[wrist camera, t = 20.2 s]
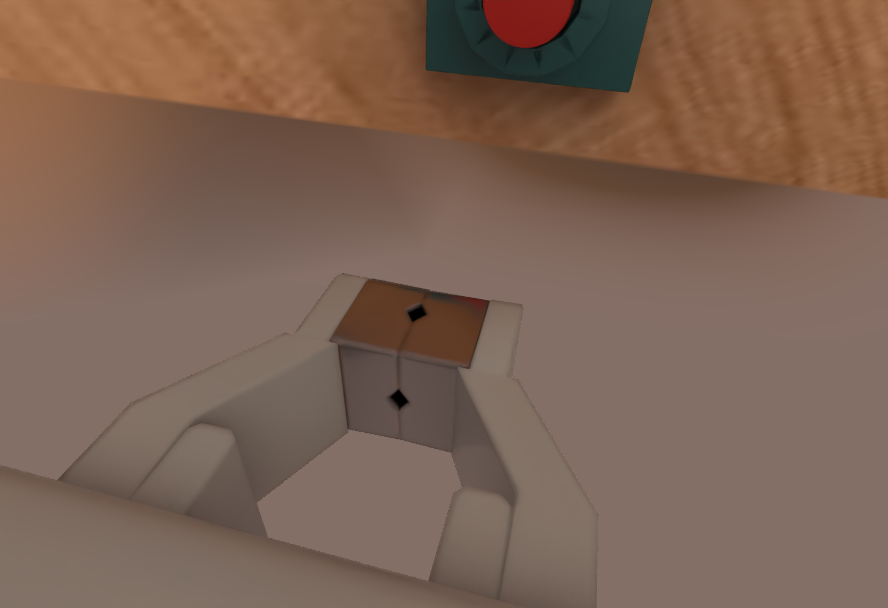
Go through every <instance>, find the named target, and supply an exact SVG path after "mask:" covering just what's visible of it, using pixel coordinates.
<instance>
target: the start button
mask: <svg viewBox="0 0 888 608" xmlns="http://www.w3.org/2000/svg"><path fill="white" fill-rule="evenodd" d="M573 4H574V0H483V8H484V13H485V16H486V19H487V22H488V24H489V26H490V27H491V29H492V31H493V32H494V33H495V34H496V35H497V36H498V37H499V38H500V39H501V40H503V41H504V42H505V43H507V44H509V45H512V46H515V47H520V48H532V47H536V46H540V45H542V44H545V43H546V42H548V41H550V40H551V39H552V38H554V37H555V36H556V35H557V34H558V33H559V32H560V31H561V29H562V28H563V27H564V25H565V24H566V22H567V20H568V18H569V16H570V13H571V10H572V7H573Z"/></svg>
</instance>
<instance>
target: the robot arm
mask: <svg viewBox="0 0 888 608" xmlns="http://www.w3.org/2000/svg"><path fill="white" fill-rule="evenodd" d="M522 313H523V306H522V304H516V303H510V302H503V301H495V300H491V301H489V300H483V299H477V298H471V297H465V296H459V295H453V294H448V293H442V292H436V291H430V290H427V289H423V288H417V287H412V286H407V285H402V284H397V283H392V282H387V281H382V280H376V279H369V278H366V277H360V276H355V275H349V274H344V273H342V274H340V275H337V276H336V277H335V278H334V280H333V281H332V282H331V284H330V285H329V287H328V288H327V289H326V290H325V292H324V293H323V295H322V296H321V298H320V299H319V300H318V302H317V303H316V304H315V306H314V307H313V308H312V310H311V311H310V312H309V314H308V315H307V317H306V318H305V319H304V321H303V322H302V323H301V325H300V326H299V328H298V329H297V330H296V332H295V333H294V334H289V333H283V334H281V335H279V336H276V337H274V338H272V339H270V340H268V341H266V342H263V343H261V344H259V345H257V346H254V347H252V348H250V349H248V350H246V351H243V352H241V353H239V354H237V355H235V356H233V357H230V358H228V359H226V360H224V361H221V362H219V363H217V364H215V365H213V366H210V367H208V368H206V369H204V370H202V371H199V372H197V373H195V374H193V375H190V376H188V377H186V378H184V379H182V380H179V381H177V382H175V383H173V384H171V385H168V386H166V387H164V388H162V389H160V390H158V391H155V392H153V393H151V394H149V395H146V396H144V397H143V398H140V399H138V400H135V401H133V402H131V403H130V404H129V405H128V406H127V407H126V408H125V409H124V410H123V412H121V414H119V416H118V417H117V418H116V419H115V420H114V421H113V422H112V423H111V424H110V425H109V426H108V427H107V428H106V429H105V430H104V431H103V432H102V434H100V436H99V437H98V438H97V439H96V440H95V441H94V442H93V443H92V444H91V445H90V446H89V447H88V448H87V449H86V450H85V451H84V452H83V453H82V455H81V456H80V457H79V458H78V459H77V460H76V461H75V462H74V463H73V464H72V465H71V466H70V467H69V468H68V469H67V470H66V471H65V472H64V473H63V474H62V476H61V477H60V478H59V479H58V480H54V479H50V478H46V477H43V476H39V475H36V474H32V473H28V472H24V471H20V470H17V469H13V468H10V467H6V466H2V465H0V608H596V601H597V599H596V598H597V550H598V513H597V511H596V510H595V508H594V506H593V505H592V503H591V501H590V500H589V498H588V496H587V495H586V493H585V491H584V489H583V488H582V486H581V484H580V483H579V481H578V479H577V478H576V476H575V474H574V472H573V471H572V469H571V468H570V466H569V464H568V462H567V461H566V459H565V457H564V456H563V454H562V452H561V451H560V449H559V447H558V446H557V444H556V442H555V440H554V439H553V437H552V435H551V434H550V432H549V430H548V428H547V427H546V425H545V423H544V422H543V420H542V418H541V417H540V415H539V413H538V412H537V410H536V409H535V406H534V405H533V403H532V401H531V400H530V398H529V396H528V395H527V393H526V391H525V390H524V388H523V386H522V385H521V383H520V381H519V380H518V379H515V378H512V375H513V369H514V363H515V357H516V350H517V344H518V338H519V331H520V325H521V320H522ZM348 429H350V430H355V431H360V432H365V433H370V434H375V435H380V436H385V437H390V438H395V439H400V440H404V441H408V442H412V443H416V444H419V445H423V446H428V447H431V448H435V449H439V450H443V451H447V452H451V453H452V457H453V460H454V463H455V467H456V469H457V472H458V475H459V479H460V482H461V485H462V488H460V489H459V490H457V491H455V492H453V496H452V499H451V503H450V506H449V510H448V513H447V517H446V521H445V524H444V528H443V531H442V535H441V539H440V542H439V545H438V549H437V552H436V556H435V560H434V563H433V567H432V570H431V574H430V578H429V581H426V580H422V579H418V578H415V577H411V576H408V575H404V574H400V573H397V572H393V571H389V570H386V569H382V568H378V567H375V566H371V565H367V564H363V563H360V562H356V561H352V560H349V559H345V558H342V557H338V556H334V555H330V554H327V553H323V552H320V551H316V550H312V549H308V548H305V547H301V546H297V545H294V544H290V543H286V542H282V541H279V540H275V539H272V538H268V537H267V533H266V530H265V527H264V524H263V521H262V518H261V515H260V512H259V509H258V506H257V502H258V501H259V500H261V499H262V498H263V497H265V496H266V495H267V494H269V493H270V492H271V491H272V490H274V489H275V488H276V487H278V486H279V485H280V484H282V483H283V482H284V481H285V480H287V479H288V478H289V477H291V476H292V475H293V474H294V473H296V472H297V471H298V470H300V469H301V468H302V467H304V466H305V465H306V464H308V463H309V462H310V461H311V460H313V459H314V458H315V457H316V456H318V455H319V454H321V453H322V452H323V451H324V450H326V449H327V448H328V447H330V446H331V445H332V444H334V443H335V442H336V441H337V440H339V439H340V438H341V437H343V436H344V435H345V434H347V433H348Z"/></svg>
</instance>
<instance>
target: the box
mask: <svg viewBox="0 0 888 608" xmlns="http://www.w3.org/2000/svg"><path fill="white" fill-rule="evenodd" d="M651 3H652V0H574V4H573V7H572V10H571V13H570V16H569V18H568V20H567V22H566V24H565V25H564V27H563V28H562V29H561V31H560V32H559V33H558V34H557V35H556V36H555V37H554V38H552V39H551V40H550V41H548V42H546V43H545V44H542V45H540V46H536V47H532V48H520V47H515V46H512V45H509V44H507V43H505V42H504V41H503V40H501V39H500V38H499V37H498V36H497V35H496V34H495V33H494V32H493V31H492V29H491V27H490V26H489V24H488V22H487V19H486V16H485V13H484V8H483V0H427V20H426V70H428V71H437V72H446V73H455V74H464V75H473V76H482V77H491V78H500V79H509V80H519V81H528V82H537V83H546V84H555V85H564V86H573V87H582V88H591V89H600V90H609V91H618V92H627V93H628V92H629V91H630V88H631V84H632V80H633V76H634V72H635V68H636V64H637V60H638V56H639V52H640V48H641V43H642V39H643V35H644V31H645V27H646V23H647V19H648V15H649V11H650V7H651Z"/></svg>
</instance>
